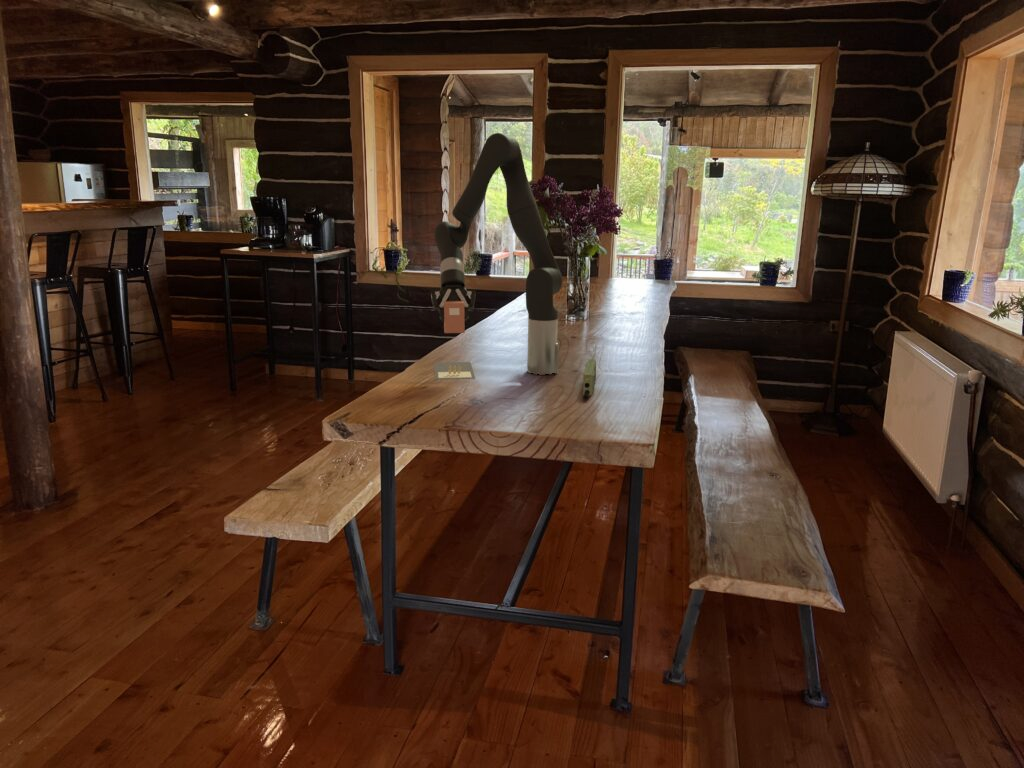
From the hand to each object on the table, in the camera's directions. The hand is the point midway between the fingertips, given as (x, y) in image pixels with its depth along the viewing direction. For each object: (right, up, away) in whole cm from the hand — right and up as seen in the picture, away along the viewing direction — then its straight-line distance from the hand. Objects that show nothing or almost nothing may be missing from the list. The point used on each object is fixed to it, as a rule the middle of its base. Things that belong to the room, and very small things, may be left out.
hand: (454, 319), depth 218 cm
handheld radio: (+40, -21, -5) cm, 45 cm away
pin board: (-1, -16, +11) cm, 19 cm away
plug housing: (0, -3, +3) cm, 4 cm away
